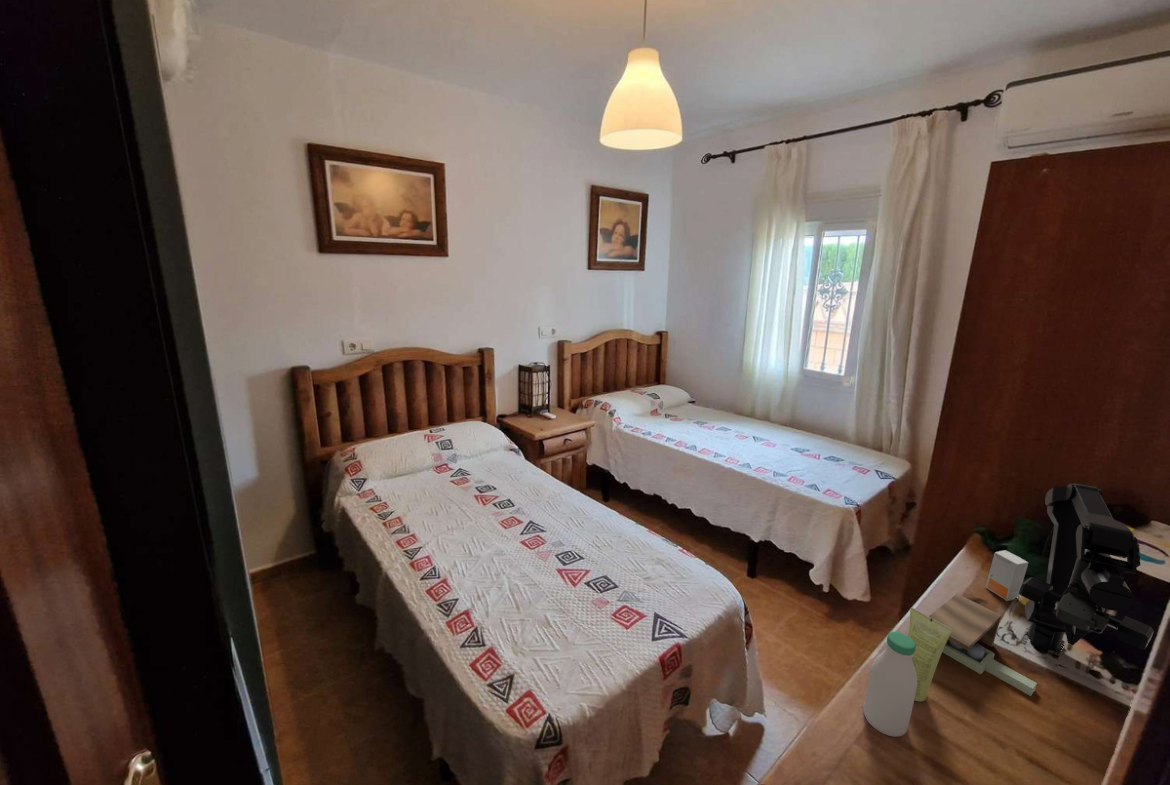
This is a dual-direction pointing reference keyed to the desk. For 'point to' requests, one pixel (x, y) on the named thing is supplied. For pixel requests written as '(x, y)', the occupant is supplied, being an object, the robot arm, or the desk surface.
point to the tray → (992, 669)
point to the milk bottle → (892, 687)
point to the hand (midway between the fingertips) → (1071, 643)
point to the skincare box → (1006, 575)
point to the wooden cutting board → (968, 621)
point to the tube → (926, 648)
